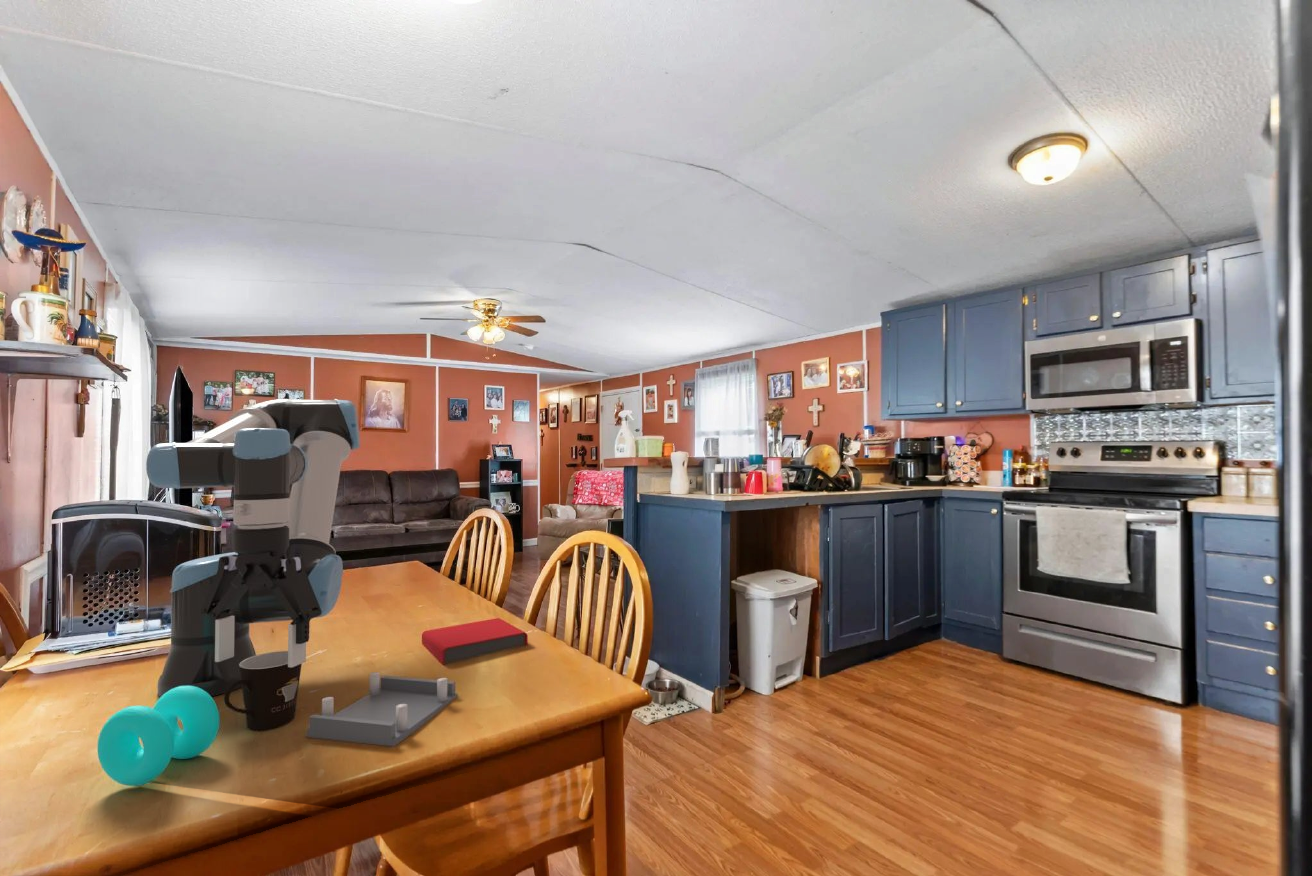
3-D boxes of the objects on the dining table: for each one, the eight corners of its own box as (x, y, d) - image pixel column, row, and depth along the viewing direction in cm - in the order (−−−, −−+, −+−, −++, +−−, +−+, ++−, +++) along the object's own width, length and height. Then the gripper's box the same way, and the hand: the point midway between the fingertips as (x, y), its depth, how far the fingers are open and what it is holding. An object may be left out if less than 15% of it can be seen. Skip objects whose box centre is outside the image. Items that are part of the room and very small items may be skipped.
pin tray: (306, 736, 93) (306, 706, 93) (381, 692, 110) (381, 667, 110) (394, 746, 89) (394, 715, 90) (457, 699, 106) (457, 673, 107)
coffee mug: (290, 706, 104) (290, 647, 104) (311, 720, 98) (311, 657, 99) (207, 731, 95) (208, 666, 95) (226, 748, 89) (226, 678, 90)
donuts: (90, 787, 79) (91, 708, 79) (164, 749, 89) (164, 680, 89) (157, 793, 78) (158, 713, 78) (224, 754, 88) (225, 684, 88)
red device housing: (501, 638, 142) (501, 617, 142) (527, 655, 130) (527, 631, 130) (421, 654, 131) (421, 631, 131) (442, 674, 120) (442, 648, 120)
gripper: (175, 527, 96) (172, 664, 95) (310, 529, 91) (309, 674, 90) (218, 522, 104) (216, 649, 103) (346, 524, 98) (346, 658, 97)
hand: (260, 661), depth 96 cm, fingers open, 13 cm apart
